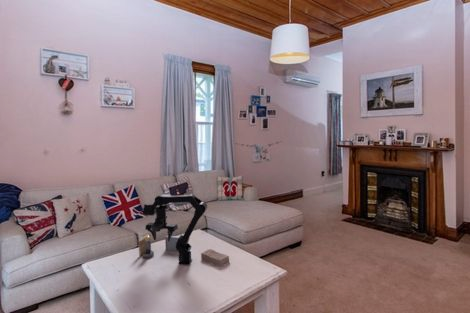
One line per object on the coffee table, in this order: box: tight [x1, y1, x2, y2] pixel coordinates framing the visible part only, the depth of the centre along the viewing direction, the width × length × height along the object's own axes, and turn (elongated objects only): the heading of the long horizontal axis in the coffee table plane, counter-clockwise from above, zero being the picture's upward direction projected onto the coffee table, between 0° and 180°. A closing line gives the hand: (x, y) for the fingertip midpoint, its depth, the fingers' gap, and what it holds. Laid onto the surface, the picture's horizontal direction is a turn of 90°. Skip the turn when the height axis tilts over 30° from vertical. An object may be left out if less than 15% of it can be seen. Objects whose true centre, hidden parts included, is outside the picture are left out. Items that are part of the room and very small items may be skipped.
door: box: [138, 233, 151, 257], centre depth 184 cm, size 1×13×10 cm, turn 167°
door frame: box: [164, 235, 180, 252], centre depth 189 cm, size 25×2×9 cm, turn 77°
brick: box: [200, 248, 230, 268], centre depth 171 cm, size 17×8×5 cm, turn 52°
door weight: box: [142, 235, 155, 259], centre depth 178 cm, size 6×6×13 cm
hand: (161, 240), depth 170 cm, fingers open, 9 cm apart
